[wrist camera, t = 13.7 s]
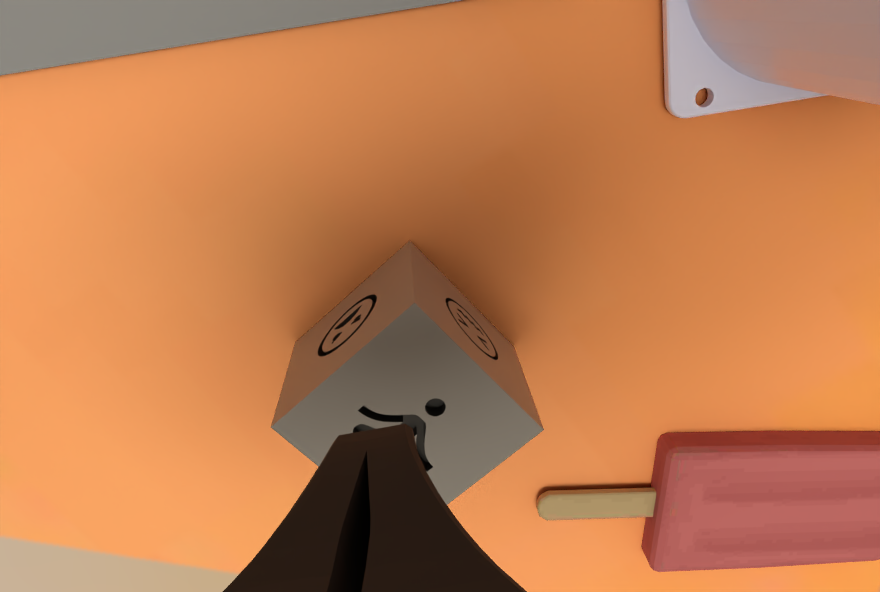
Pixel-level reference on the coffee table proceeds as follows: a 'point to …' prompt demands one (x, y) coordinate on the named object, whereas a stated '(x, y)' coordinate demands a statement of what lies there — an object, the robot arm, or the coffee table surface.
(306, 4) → the mat
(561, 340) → the coffee table surface
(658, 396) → the coffee table surface
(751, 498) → the popsicle
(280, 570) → the robot arm
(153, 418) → the coffee table surface
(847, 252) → the coffee table surface
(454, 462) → the dice cube
